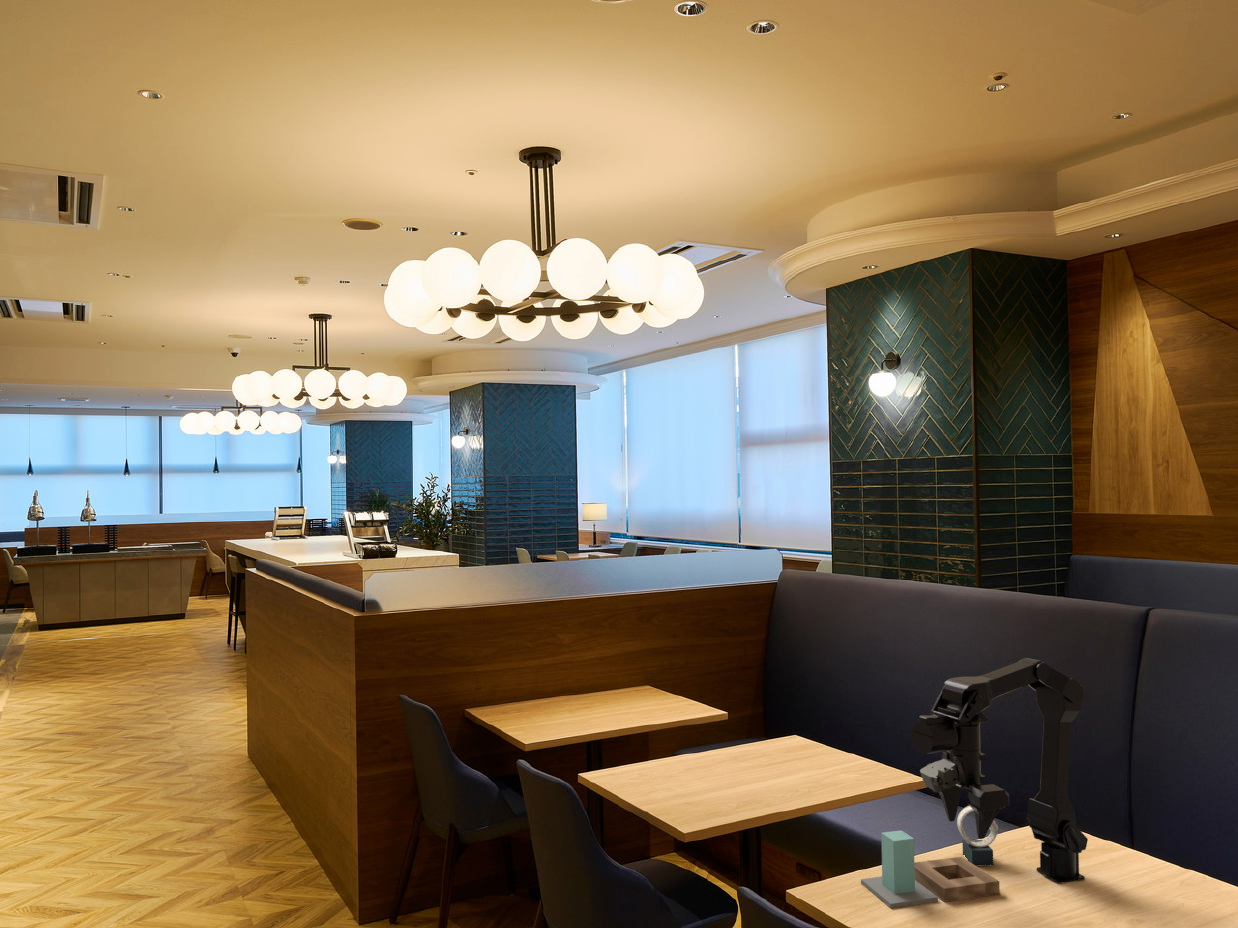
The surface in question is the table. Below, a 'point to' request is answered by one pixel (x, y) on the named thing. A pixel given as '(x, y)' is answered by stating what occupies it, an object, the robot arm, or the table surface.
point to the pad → (900, 899)
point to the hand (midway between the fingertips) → (966, 829)
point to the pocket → (967, 886)
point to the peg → (898, 862)
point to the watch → (977, 842)
